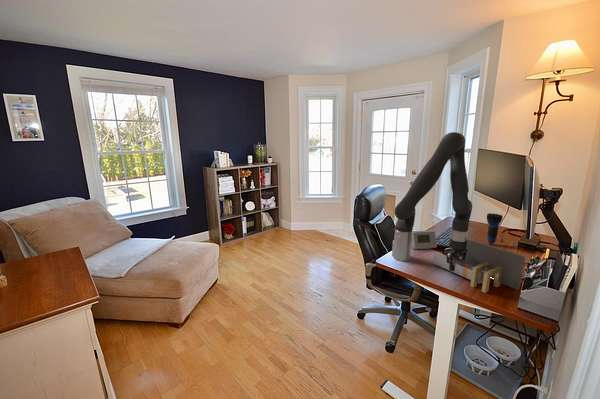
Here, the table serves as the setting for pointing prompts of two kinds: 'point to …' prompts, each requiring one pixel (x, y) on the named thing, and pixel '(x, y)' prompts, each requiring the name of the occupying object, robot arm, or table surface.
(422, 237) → the digital clock
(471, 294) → the table surface
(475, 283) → the beige arch
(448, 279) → the table surface
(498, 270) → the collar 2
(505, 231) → the table surface
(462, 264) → the grey slab
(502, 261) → the firebox panel
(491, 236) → the flashlight
